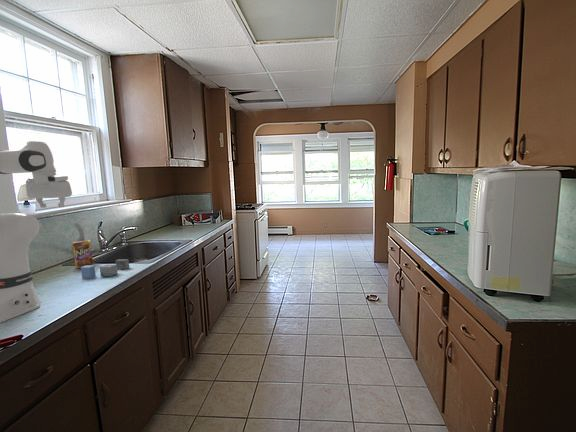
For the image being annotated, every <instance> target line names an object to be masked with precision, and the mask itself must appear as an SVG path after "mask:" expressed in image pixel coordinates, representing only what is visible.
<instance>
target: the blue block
mask: <svg viewBox="0 0 576 432" xmlns="http://www.w3.org/2000/svg"><path fill="white" fill-rule="evenodd" d="M95 267H96V266H95V265H94V264H93V265H86V266H83V267H81V268H80V271H81V279H84V280H85V279H90V280H91V279H93V278H96V277H97V275H96V274H97V273H96V268H95Z"/></svg>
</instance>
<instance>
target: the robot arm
mask: <svg viewBox="0 0 576 432" xmlns="http://www.w3.org/2000/svg"><path fill="white" fill-rule="evenodd" d="M54 162H55V161H54V157H53V151H52V150H51V148H50V145H49V144H48V142H44V141H39V140H38V141H36V140H33V141H32V140H31V141H30V140H29V141H27V142H26V144H25V145H24V146H23V147H21V148H19V149H14V150H13V149H12V150H9V149H8V150H0V175H9V174H23V173H25V174H26V173H28V174H29V173H31V174H32V177H31V178H27V179H26V180H25V184H26V185H25V189H26V196H27V198H28V199H31V200H33V199H35V201H36V202H37V203H38V205H39V207H40V208H41V209H44V208H47V204H46V203H45V202H44V201H43V199H56V198H58V200H59V203H57V205H58V207H59V208H64V207H65V201H66V198H69V197H72V194H73V191H72V187H71V184H70V182H69V181H68V180H69V176H68V175H65V174H62V173H59V172H57V169H56V167H55V165H54ZM39 232H40V222H39V220H38V218H37V217H35V216H33V215H31V214H26V213H22V212H21V213H20V212H17V213H16V212H15V213H14V212H13V213H11V212H10V213H0V324H1V323H3V322H5V321H8V320H10V319H13V318H16V317H18V316H21V315H23V314H26V313H29V312H31V311H33V310H36V309H38V308H40V307H41V301H40V299H39V297H38V294H37V292H36V289H35V287H34V284H33V279H34V278H33V277H34V276H33V273H32V270H31V268H30V262H29V248H30V245H31V242H32V241H33V239H34V238H36V237H37V236H38V233H39Z"/></svg>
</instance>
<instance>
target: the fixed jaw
mask: <svg viewBox="0 0 576 432" xmlns="http://www.w3.org/2000/svg"><path fill="white" fill-rule="evenodd" d="M115 264H116V265H117V270H128V269H130V262H129V258H127V259H126V258H122V259H121V258H119V259H116V260H115Z"/></svg>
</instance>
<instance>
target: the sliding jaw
mask: <svg viewBox="0 0 576 432" xmlns="http://www.w3.org/2000/svg"><path fill="white" fill-rule="evenodd" d="M99 272H100V277H113V276H115V275H117V274H118V269H117V265H116V263H114V264H113V263H112V264H111V263H110V264H109V263H107V264H106V263H105V264H104V265H102V266H99Z"/></svg>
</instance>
